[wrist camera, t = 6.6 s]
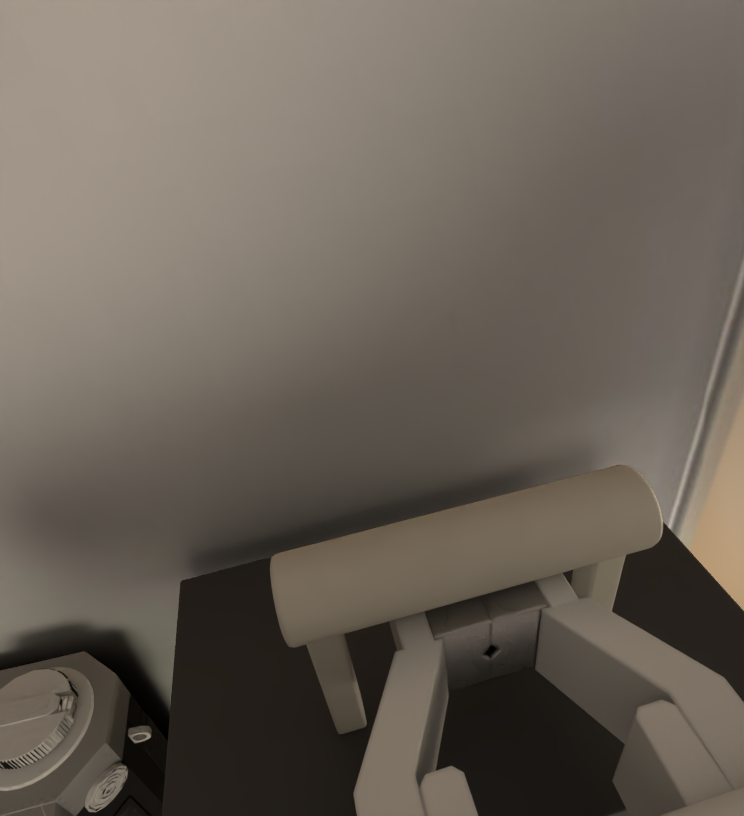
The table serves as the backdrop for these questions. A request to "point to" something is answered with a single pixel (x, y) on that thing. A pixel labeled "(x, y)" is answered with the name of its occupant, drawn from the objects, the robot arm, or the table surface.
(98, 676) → the camera
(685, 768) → the robot arm
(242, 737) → the drawer
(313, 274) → the table surface
